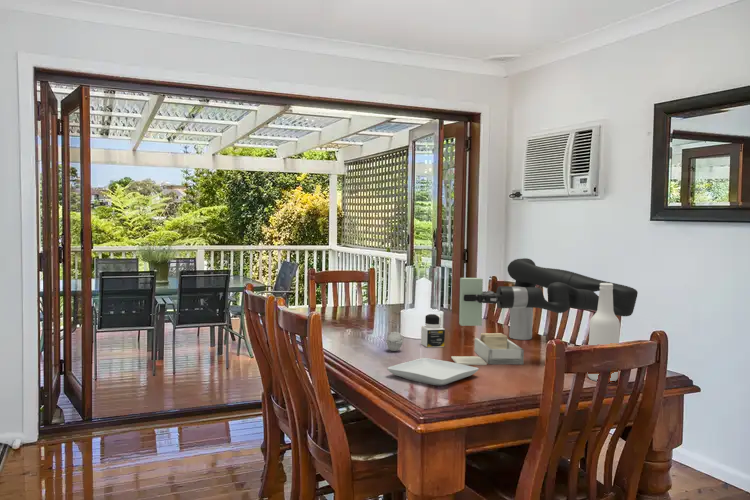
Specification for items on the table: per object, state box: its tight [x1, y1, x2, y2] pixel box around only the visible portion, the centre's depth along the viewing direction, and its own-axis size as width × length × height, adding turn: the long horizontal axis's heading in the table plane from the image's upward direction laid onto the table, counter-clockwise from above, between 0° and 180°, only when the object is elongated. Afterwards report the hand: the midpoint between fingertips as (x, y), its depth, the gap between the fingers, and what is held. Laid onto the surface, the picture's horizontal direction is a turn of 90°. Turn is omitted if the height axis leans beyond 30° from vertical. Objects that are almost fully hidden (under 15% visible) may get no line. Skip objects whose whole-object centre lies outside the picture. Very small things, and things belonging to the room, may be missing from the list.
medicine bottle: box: [420, 313, 446, 349], centre depth 234 cm, size 7×7×12 cm
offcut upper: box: [479, 332, 508, 343], centre depth 222 cm, size 6×8×2 cm
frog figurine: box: [386, 331, 404, 352], centre depth 223 cm, size 6×7×7 cm
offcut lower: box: [482, 341, 507, 349], centre depth 222 cm, size 6×8×2 cm
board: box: [458, 277, 484, 327], centre depth 208 cm, size 4×7×16 cm, turn 95°
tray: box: [474, 337, 525, 365], centre depth 216 cm, size 20×12×5 cm, turn 5°
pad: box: [450, 355, 488, 366], centre depth 209 cm, size 10×10×1 cm
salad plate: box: [386, 357, 480, 387], centre depth 188 cm, size 21×21×3 cm
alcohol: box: [587, 282, 621, 382], centre depth 188 cm, size 9×9×30 cm
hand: (462, 297), depth 207 cm, fingers closed on board, 3 cm apart
